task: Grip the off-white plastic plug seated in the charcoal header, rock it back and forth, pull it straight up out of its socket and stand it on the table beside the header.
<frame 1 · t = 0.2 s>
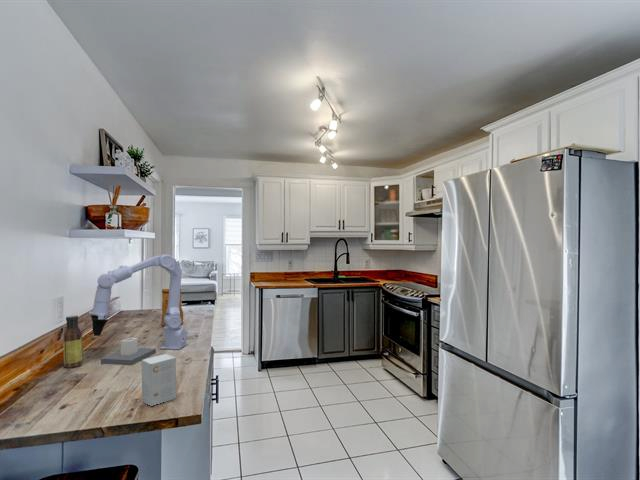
hand: (96, 333, 152), 11 cm above the counter, tool pointing down, fingers open, 7 cm apart
sauce bottle: (72, 366, 143), on the counter
small box: (158, 400, 111), on the counter
plug: (129, 348, 152), in the header
header: (129, 358, 152), on the counter
coffee package: (172, 325, 215), on the counter
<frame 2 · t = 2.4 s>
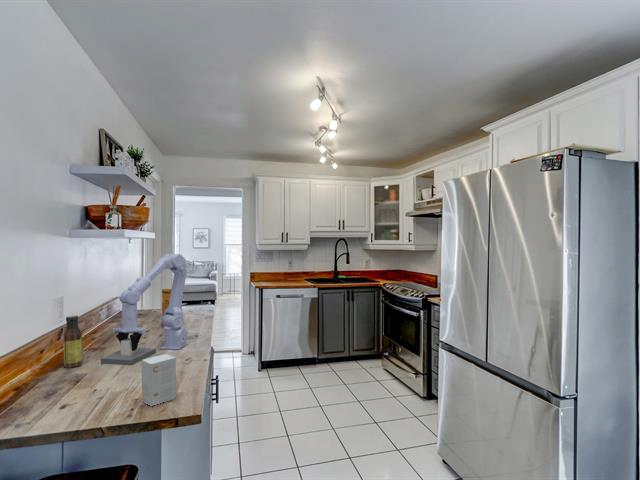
hand: (129, 350, 152), 3 cm above the counter, tool pointing down, fingers closed on plug, 4 cm apart
plug: (129, 348, 152), in the header, touching gripper
everything else where it was.
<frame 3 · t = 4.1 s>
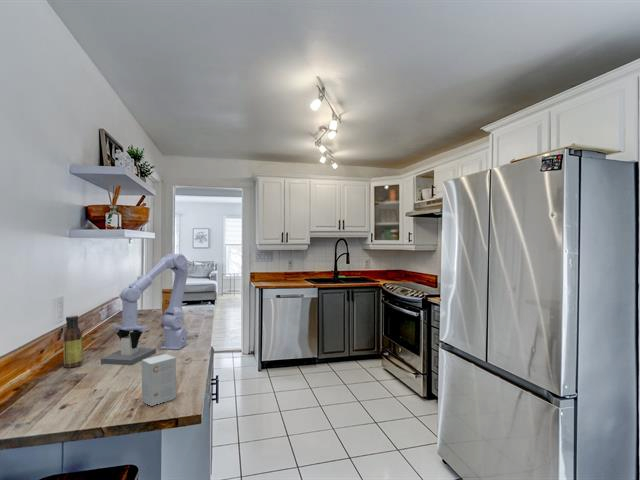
hand: (129, 347, 153), 4 cm above the counter, tool pointing down, fingers closed on plug, 4 cm apart
plug: (129, 346, 153), in the header, point 5 cm above the counter, touching gripper
everything else where it was.
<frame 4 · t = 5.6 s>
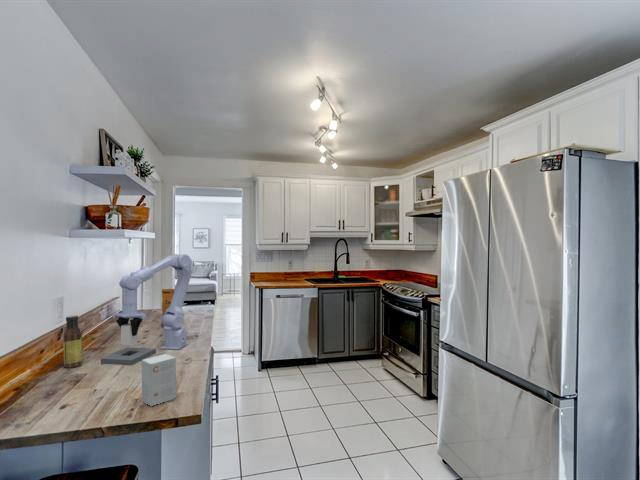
hand: (129, 335, 153), 10 cm above the counter, tool pointing down, fingers closed on plug, 4 cm apart
plug: (129, 333, 153), point 10 cm above the counter, touching gripper
everything else where it was.
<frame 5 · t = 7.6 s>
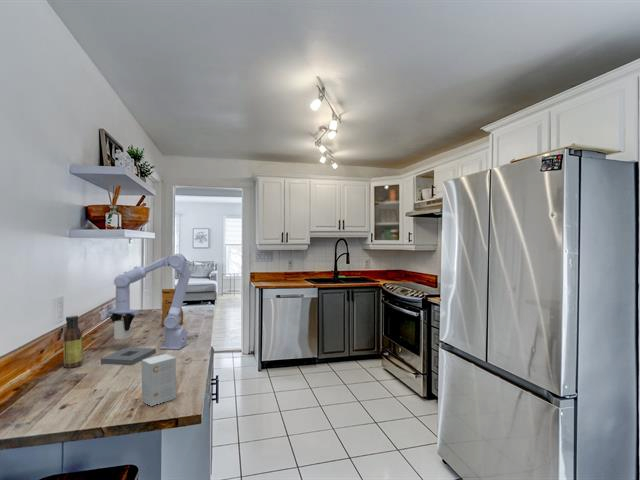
hand: (122, 330, 164), 9 cm above the counter, tool pointing down, fingers closed on plug, 4 cm apart
plug: (122, 328, 164), point 10 cm above the counter, touching gripper
everything else where it was.
when the fingers open (4 cm above the counter, at t = 9.0 s): plug drops 1 cm, on the counter.
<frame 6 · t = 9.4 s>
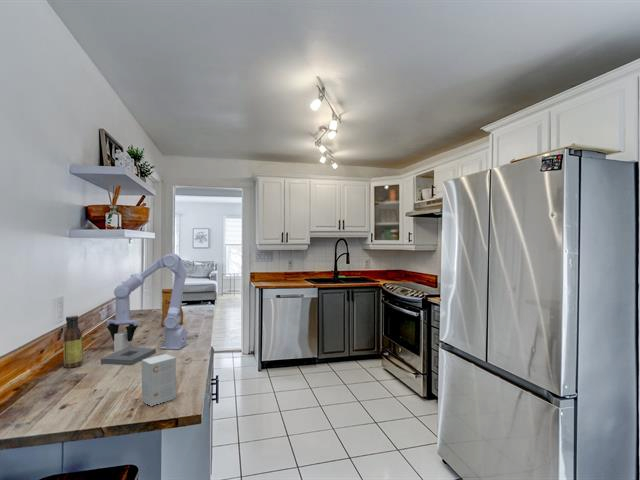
hand: (122, 340, 164), 4 cm above the counter, tool pointing down, fingers open, 7 cm apart
plug: (122, 341, 164), on the counter
everything else where it was.
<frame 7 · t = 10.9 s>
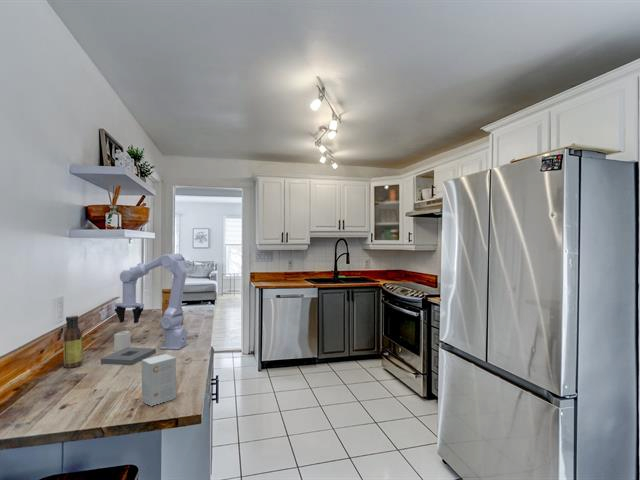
hand: (129, 322, 174), 10 cm above the counter, tool pointing down, fingers open, 7 cm apart
nothing on the counter moved.
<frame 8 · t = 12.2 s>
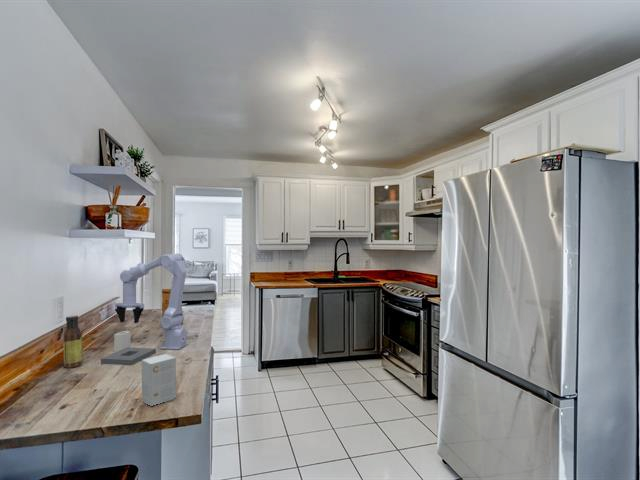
hand: (129, 322, 175), 10 cm above the counter, tool pointing down, fingers open, 7 cm apart
nothing on the counter moved.
at the end: plug inside the target area (0.0 cm from its centre), on the counter; plug tilted 0°; the gripper is holding nothing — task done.
